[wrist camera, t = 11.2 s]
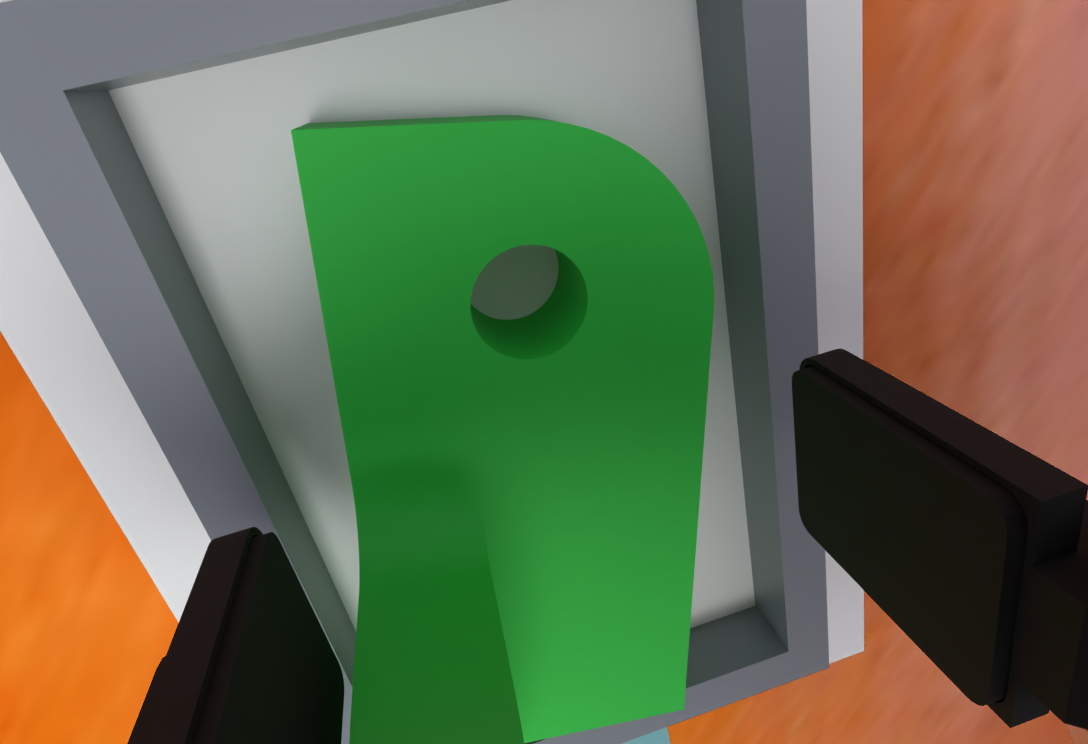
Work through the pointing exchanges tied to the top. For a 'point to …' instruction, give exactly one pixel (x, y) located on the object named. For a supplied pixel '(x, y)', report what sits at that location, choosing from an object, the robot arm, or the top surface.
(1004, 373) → the top surface
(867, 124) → the top surface
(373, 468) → the mechanical part
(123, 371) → the socket board
